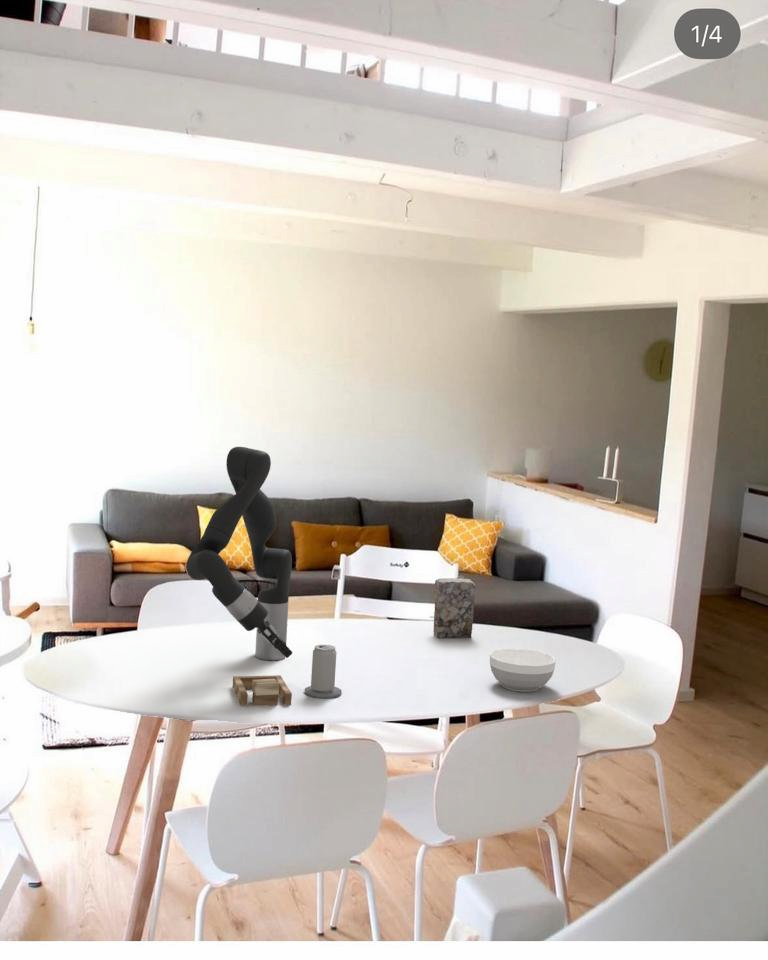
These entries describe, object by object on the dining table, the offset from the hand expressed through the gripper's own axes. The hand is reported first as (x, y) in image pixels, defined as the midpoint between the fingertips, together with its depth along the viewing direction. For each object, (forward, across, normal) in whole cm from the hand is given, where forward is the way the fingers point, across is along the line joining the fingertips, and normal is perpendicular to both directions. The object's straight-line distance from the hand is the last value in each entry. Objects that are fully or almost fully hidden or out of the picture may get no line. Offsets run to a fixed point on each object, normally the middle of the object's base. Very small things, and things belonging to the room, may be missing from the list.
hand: (286, 651), depth 273 cm
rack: (+4, -1, +13) cm, 13 cm away
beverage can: (+15, 0, 0) cm, 15 cm away
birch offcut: (+2, -7, +11) cm, 13 cm away
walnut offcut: (+4, -7, +13) cm, 15 cm away
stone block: (+58, +61, -41) cm, 94 cm away
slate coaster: (+16, 0, +1) cm, 16 cm away
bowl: (+57, +1, -41) cm, 70 cm away
